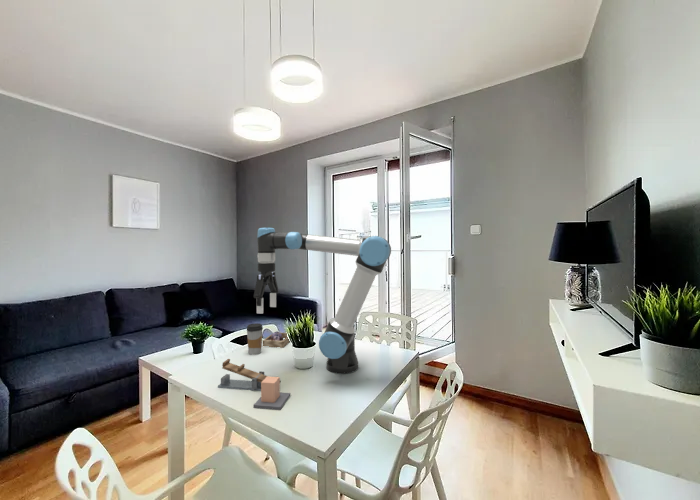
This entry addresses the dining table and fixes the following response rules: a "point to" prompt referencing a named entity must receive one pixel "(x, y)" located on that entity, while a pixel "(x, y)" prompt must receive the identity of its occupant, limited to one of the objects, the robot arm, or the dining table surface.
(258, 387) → the fulcrum
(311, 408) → the dining table surface
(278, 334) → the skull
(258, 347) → the coffee cup
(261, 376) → the lever
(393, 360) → the dining table surface
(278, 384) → the block
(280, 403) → the pad
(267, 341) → the rock tray
